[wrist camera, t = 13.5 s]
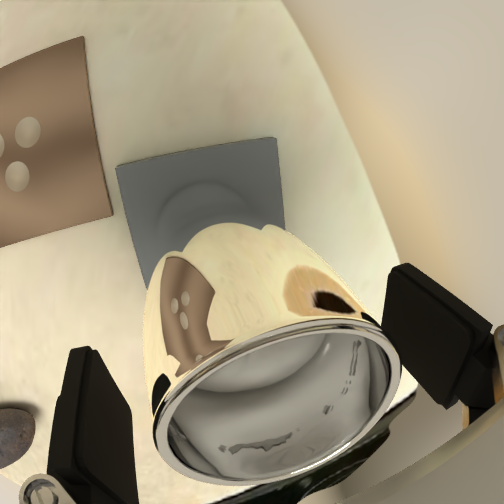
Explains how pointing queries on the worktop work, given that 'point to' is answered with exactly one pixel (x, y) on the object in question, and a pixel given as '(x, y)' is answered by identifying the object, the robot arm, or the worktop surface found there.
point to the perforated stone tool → (15, 435)
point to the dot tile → (48, 145)
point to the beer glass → (255, 347)
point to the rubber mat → (191, 172)
